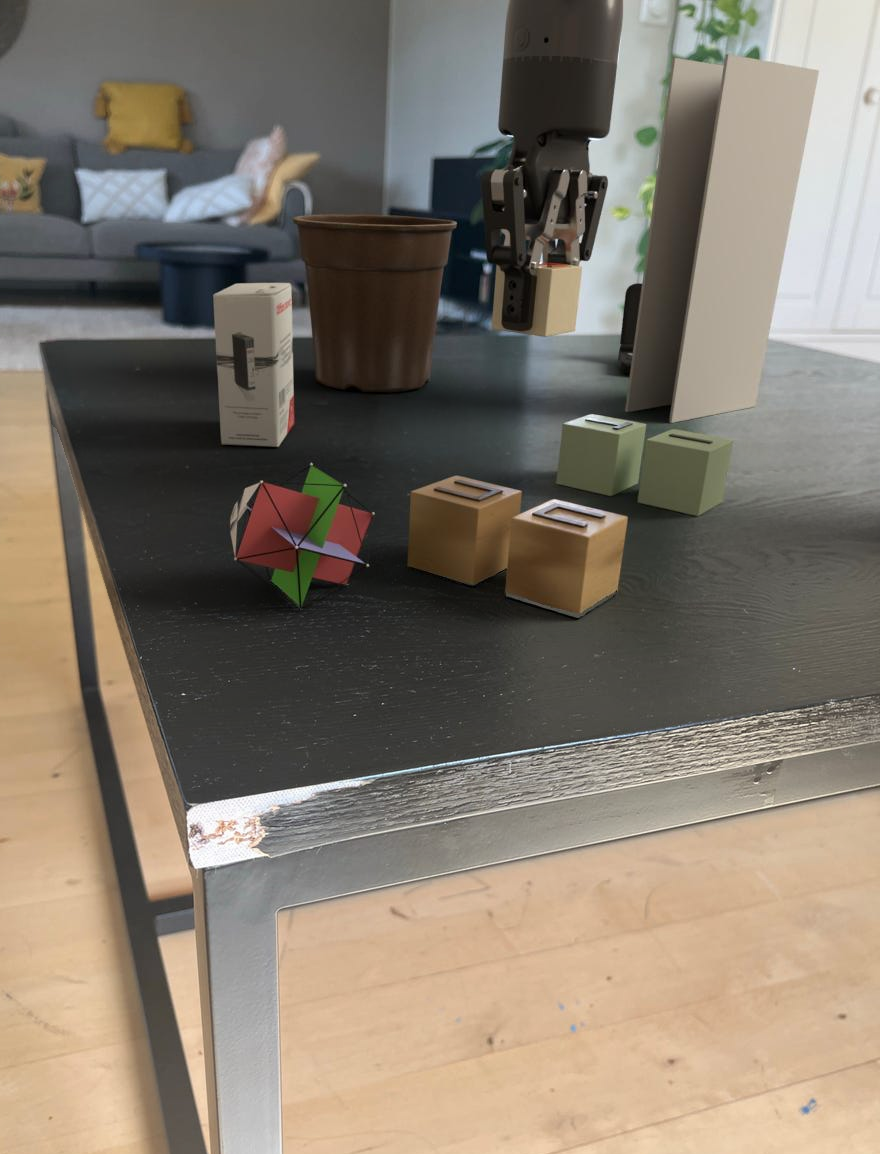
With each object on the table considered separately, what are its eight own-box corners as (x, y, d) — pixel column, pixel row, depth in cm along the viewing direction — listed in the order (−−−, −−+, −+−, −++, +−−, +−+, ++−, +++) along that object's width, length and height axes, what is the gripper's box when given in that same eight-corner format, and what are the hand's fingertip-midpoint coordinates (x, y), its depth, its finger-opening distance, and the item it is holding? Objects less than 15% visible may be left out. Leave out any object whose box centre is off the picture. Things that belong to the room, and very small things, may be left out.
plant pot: (349, 404, 95) (352, 222, 88) (266, 375, 106) (263, 212, 99) (478, 389, 104) (490, 223, 97) (389, 364, 115) (394, 214, 108)
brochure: (709, 396, 105) (764, 73, 92) (755, 406, 101) (819, 70, 88) (625, 411, 97) (672, 58, 84) (671, 422, 93) (728, 54, 80)
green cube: (555, 484, 73) (562, 421, 71) (584, 471, 76) (591, 412, 74) (611, 496, 70) (619, 432, 68) (638, 483, 74) (647, 422, 72)
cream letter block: (491, 329, 72) (496, 261, 70) (522, 323, 75) (528, 259, 73) (545, 337, 69) (552, 267, 67) (575, 331, 73) (583, 264, 71)
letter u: (503, 597, 53) (511, 514, 51) (545, 574, 56) (553, 496, 54) (578, 620, 50) (589, 534, 49) (617, 595, 54) (629, 514, 52)
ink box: (239, 421, 87) (235, 279, 82) (295, 424, 87) (294, 282, 82) (217, 445, 79) (211, 290, 74) (279, 448, 79) (276, 293, 74)
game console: (618, 376, 114) (629, 293, 110) (616, 357, 126) (626, 282, 122) (757, 385, 112) (773, 302, 108) (741, 365, 124) (755, 289, 120)
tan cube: (406, 567, 56) (410, 489, 54) (451, 547, 60) (456, 472, 58) (472, 587, 54) (478, 506, 52) (515, 565, 57) (522, 488, 55)
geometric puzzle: (367, 522, 57) (287, 417, 52) (426, 561, 51) (343, 448, 46) (275, 607, 56) (185, 509, 51) (325, 656, 50) (230, 552, 46)
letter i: (637, 502, 69) (646, 437, 67) (663, 489, 73) (673, 426, 71) (698, 516, 67) (709, 449, 65) (722, 502, 70) (734, 438, 68)
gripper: (558, 41, 58) (529, 343, 65) (658, 67, 68) (624, 324, 75) (452, 45, 62) (436, 329, 69) (562, 69, 72) (538, 313, 79)
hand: (534, 325), depth 72 cm, fingers closed on cream letter block, 4 cm apart
